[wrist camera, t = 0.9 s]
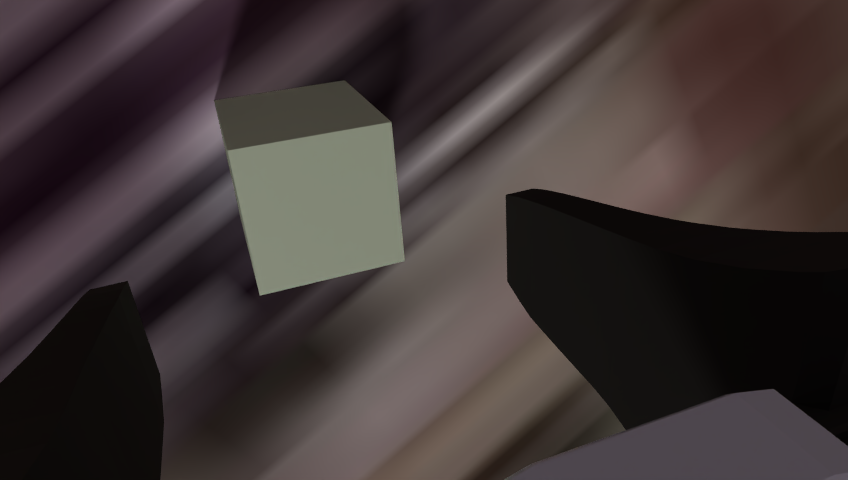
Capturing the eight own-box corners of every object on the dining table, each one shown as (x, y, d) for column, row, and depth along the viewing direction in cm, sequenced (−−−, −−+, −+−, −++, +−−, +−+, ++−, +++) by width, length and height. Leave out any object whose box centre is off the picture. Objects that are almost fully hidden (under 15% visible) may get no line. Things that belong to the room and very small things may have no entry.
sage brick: (359, 196, 22) (404, 261, 18) (241, 220, 21) (259, 295, 17) (344, 79, 20) (391, 121, 16) (214, 99, 19) (227, 150, 15)
